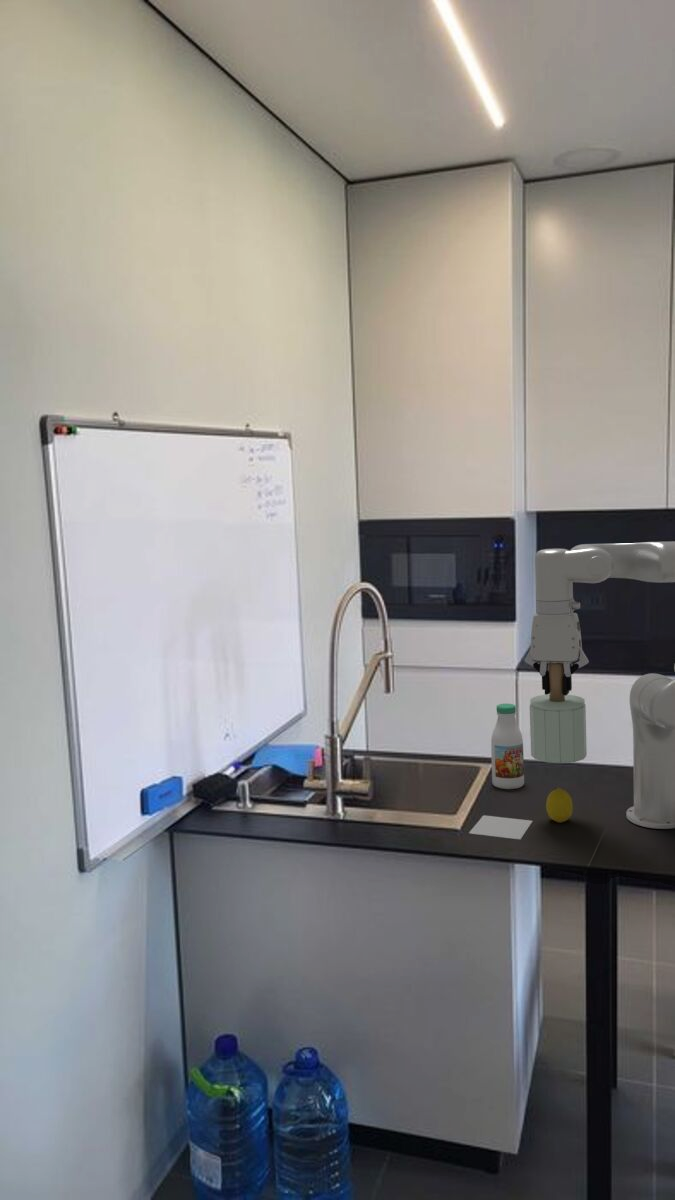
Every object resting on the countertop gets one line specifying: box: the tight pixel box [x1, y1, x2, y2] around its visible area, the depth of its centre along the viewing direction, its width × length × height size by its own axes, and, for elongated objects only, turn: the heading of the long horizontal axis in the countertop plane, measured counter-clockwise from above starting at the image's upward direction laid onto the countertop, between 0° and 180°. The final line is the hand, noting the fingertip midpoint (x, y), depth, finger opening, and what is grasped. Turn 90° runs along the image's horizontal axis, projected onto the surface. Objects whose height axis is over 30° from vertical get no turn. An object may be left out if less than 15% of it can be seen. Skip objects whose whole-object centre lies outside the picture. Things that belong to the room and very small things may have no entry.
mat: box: [468, 815, 533, 840], centre depth 194 cm, size 11×11×1 cm
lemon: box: [545, 787, 574, 823], centre depth 196 cm, size 6×6×8 cm
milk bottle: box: [490, 703, 525, 790], centre depth 222 cm, size 8×8×20 cm
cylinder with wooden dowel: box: [529, 662, 587, 764], centre depth 193 cm, size 11×11×20 cm
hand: (557, 692), depth 193 cm, fingers closed on cylinder with wooden dowel, 3 cm apart
